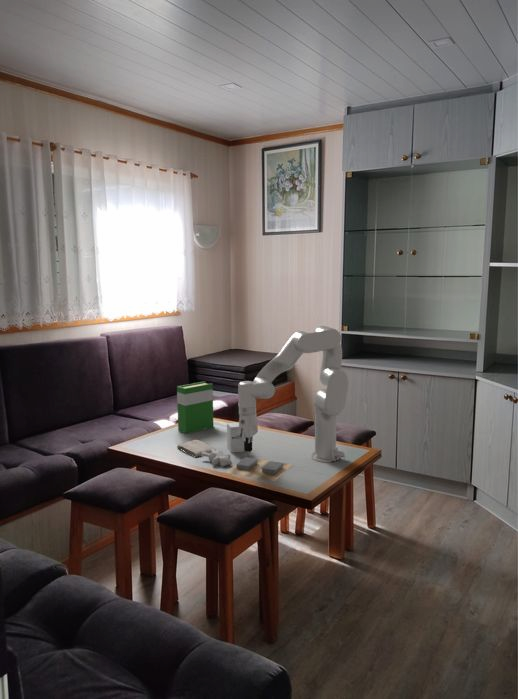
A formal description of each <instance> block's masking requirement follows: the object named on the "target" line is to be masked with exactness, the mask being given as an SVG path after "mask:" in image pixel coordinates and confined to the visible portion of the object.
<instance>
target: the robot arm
mask: <svg viewBox="0 0 518 699" xmlns="http://www.w3.org/2000/svg"><path fill="white" fill-rule="evenodd" d="M341 342H342V335H341V332H340V331H339V330H338V329H335V328H333V327H329V326H327V325H326V326H325V325H319V326H318V327H316V328H315V330H314V332H305V331H301V330H298V331H295V332H294V333H293V334H291V336H290V337H289V338H288V340H287V341H286V342H285V344H284V346H282V348H281V349H280V351H279V352H278V353H277V355H275V357H273V359H271V360H270V361H269V362H267V363H266V364H265V366H263V367H262V368H261V370H260V371H259V372H257V375H256V377H254V379H253V381H251V380H243V381H240V382H239V383H238V385H237V387H238V388H237V396H238V397H237V398H238V401H237V402H238V416H239V418H238V422H239V436H240V437H242V438H241V441H243V442H244V451H243V452H249V453H250V452H252V451H253V441H254V436H255V435H256V434H258V431H259V427H258V416H257V399H258V400H259V399H261V400H265V399H266V400H267V399H268V400H269V399H270V398H272V397H273V396H274V394H275V392H276V388H275V386H274V384H273V381H275V379H276V378H277V377H278V376H279V375H280V374H282V373H284V372H287V371H290V370H291V369H293V367H294V366H295V365H296V363H297V361H299V359H300V358H301V356H302V355H303V354H311V353H313V354H314V353H319V352H322V361H321V367H320V373H319V382H320V383H321V384H322V385H323V386H324V387H326V388H321V389H320V390H317V391H316V392H315V394H314V397H313V409H314V452H313V453H311V459H312V460H313V461H316V462H319V461H320V463H332V462H331V461H334V462H336V460H337V461H338V460H340V458H345V457H346V453H345V452H344V451H343V450H342V451H340V450H339V447H337V416H339V415H341V413H343V411H344V409H345V406H346V400H347V397H348V396H347V394H348V389H349V378H348V375H347V373H346V372H345V371H343V370H342V361H343V348H342V345H341Z"/></svg>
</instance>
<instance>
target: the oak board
mask: <svg viewBox="0 0 518 699" xmlns="http://www.w3.org/2000/svg"><path fill="white" fill-rule="evenodd" d="M257 459H258V463H257V464H256V465H255V466H254V467H252V468H251V469H250V470H243V469H238V468H237V465H236V464H234V465H233V466H232V467H231V468H229V469H228V470H227V471H226V472H225V474H230V475H235V476H243V477H246V478H252V479H259V480H260V479H261V480H266V481H273V482H277V480H279V479H280V477H282V476H283V475H284V474H285V473H286V472H287V471H288V470H289V469H290V468H291V467H292V466H293V463H286V462H282V463H283V468H282V469H280V470H279V471H278V472H277V473H276V474H275V475H274V474H268V473H263V472H262V468H263V467H264V466H265V465H266V464H268V463H269V462H270V461H271V460H265V459H259V458H257Z"/></svg>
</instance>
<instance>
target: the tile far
mask: <svg viewBox="0 0 518 699" xmlns="http://www.w3.org/2000/svg"><path fill="white" fill-rule="evenodd" d="M258 459H259V458H253V457H252V458H251V457H244V458H242V460H240V461H238V462H237V463H236V464H235V465H237V468H238V469H243V470H250V469H251V468H252V467H254V466H255V465H256V464H257V463H258Z"/></svg>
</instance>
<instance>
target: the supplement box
mask: <svg viewBox="0 0 518 699" xmlns="http://www.w3.org/2000/svg"><path fill="white" fill-rule="evenodd" d="M226 432H227V433H226V437H227V438H226V443H227V445H226V446H227V449H228V451H229V452H230V453H241V452H245V451H244V442H243V441H241V438H242V437H240V436H239V421H238V422H230V423H229V422H228V423H227V422H226Z"/></svg>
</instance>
